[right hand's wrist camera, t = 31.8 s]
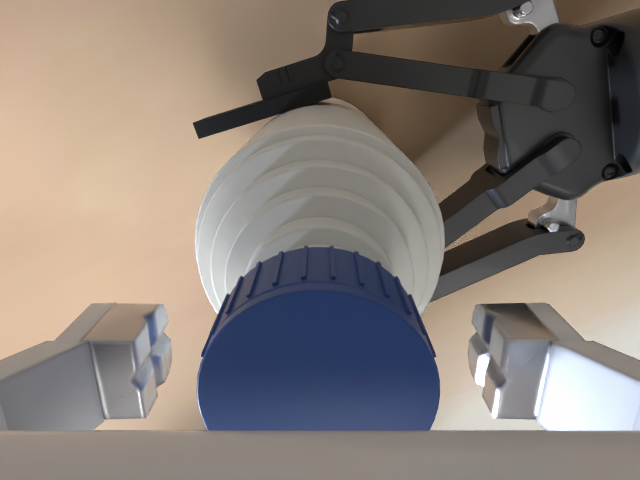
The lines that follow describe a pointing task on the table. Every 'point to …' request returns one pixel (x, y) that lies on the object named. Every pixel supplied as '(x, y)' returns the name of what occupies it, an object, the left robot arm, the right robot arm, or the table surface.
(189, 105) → the table surface
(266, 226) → the bottle
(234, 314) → the cap
